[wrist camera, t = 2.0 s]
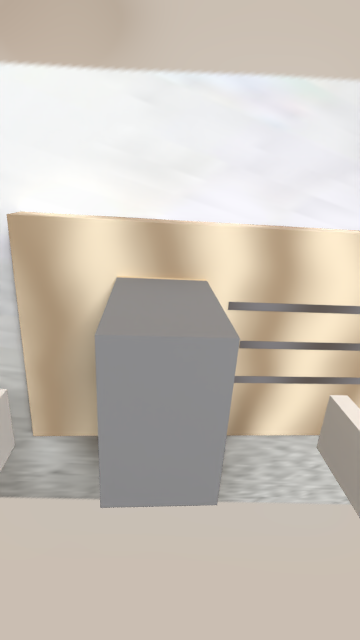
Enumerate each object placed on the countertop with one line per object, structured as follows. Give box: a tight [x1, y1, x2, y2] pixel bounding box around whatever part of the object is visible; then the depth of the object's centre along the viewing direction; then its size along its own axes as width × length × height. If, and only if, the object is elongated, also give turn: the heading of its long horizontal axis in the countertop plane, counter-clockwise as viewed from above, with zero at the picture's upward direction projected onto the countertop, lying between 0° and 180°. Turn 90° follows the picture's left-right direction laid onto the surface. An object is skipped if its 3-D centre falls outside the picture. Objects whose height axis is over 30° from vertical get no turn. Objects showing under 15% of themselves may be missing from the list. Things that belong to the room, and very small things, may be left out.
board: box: [7, 212, 360, 436], centre depth 22 cm, size 28×14×2 cm, turn 87°
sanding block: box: [95, 276, 240, 508], centre depth 17 cm, size 8×5×8 cm, turn 177°
